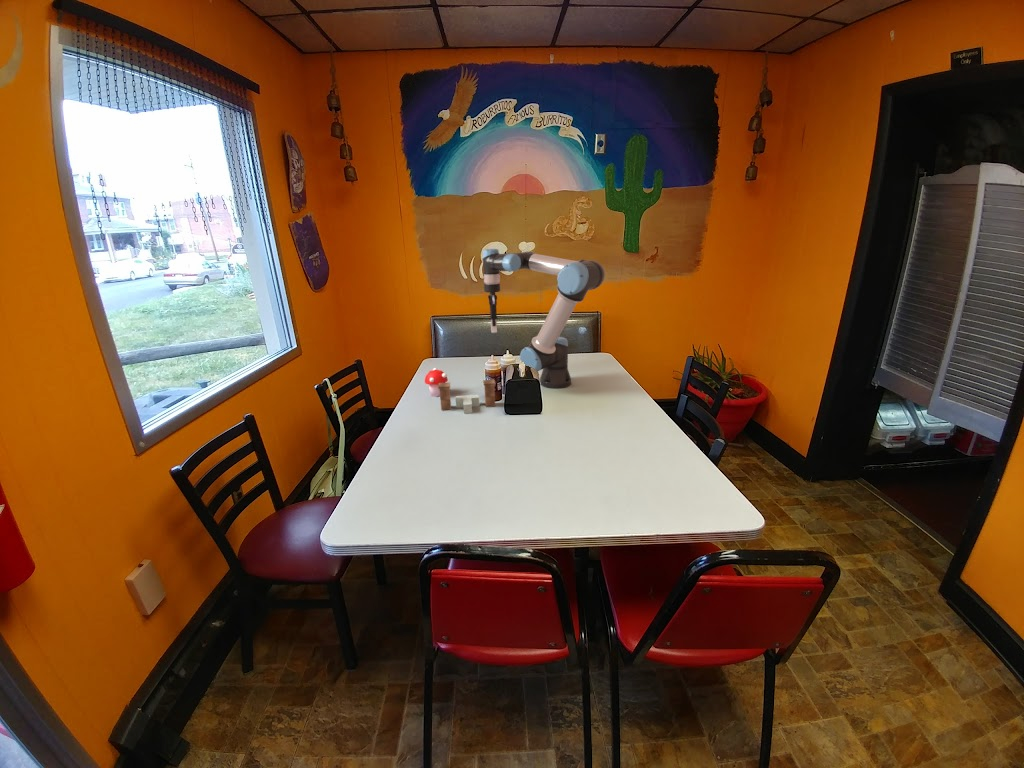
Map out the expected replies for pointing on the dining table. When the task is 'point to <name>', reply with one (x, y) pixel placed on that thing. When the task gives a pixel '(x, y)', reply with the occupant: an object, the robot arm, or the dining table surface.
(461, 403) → the t block
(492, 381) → the post
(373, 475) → the dining table surface
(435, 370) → the mushroom
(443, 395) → the post
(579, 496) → the dining table surface
